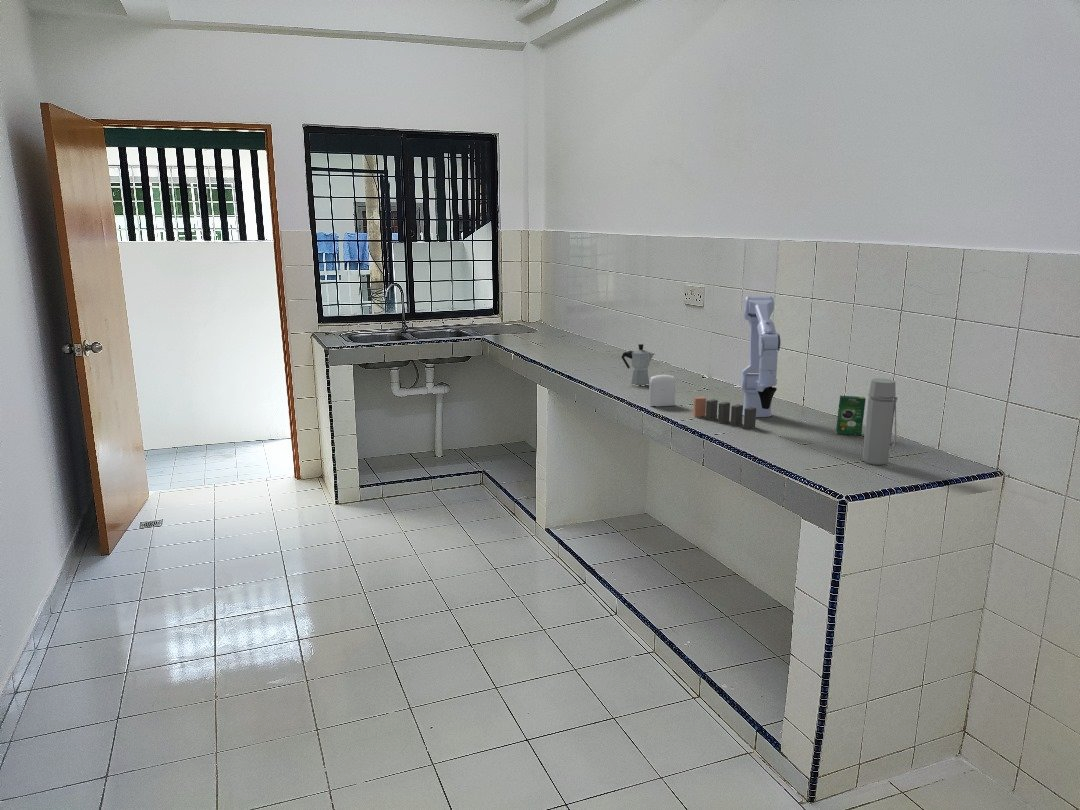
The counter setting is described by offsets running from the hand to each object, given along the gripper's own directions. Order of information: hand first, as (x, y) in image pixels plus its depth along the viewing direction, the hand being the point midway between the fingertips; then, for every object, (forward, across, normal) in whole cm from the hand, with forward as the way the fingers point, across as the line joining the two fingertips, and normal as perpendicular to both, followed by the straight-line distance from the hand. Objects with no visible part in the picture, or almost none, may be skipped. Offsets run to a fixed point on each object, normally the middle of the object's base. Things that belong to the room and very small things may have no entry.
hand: (765, 408), depth 263 cm
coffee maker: (+8, -45, -74) cm, 87 cm away
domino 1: (+8, -6, -22) cm, 24 cm away
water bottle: (+8, +16, +40) cm, 44 cm away
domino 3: (+8, -3, -11) cm, 14 cm away
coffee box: (+8, -12, +25) cm, 29 cm away
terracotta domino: (+8, -7, -27) cm, 29 cm away
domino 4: (+8, -2, -6) cm, 10 cm away
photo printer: (+8, -14, -46) cm, 49 cm away
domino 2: (+8, -4, -16) cm, 19 cm away
